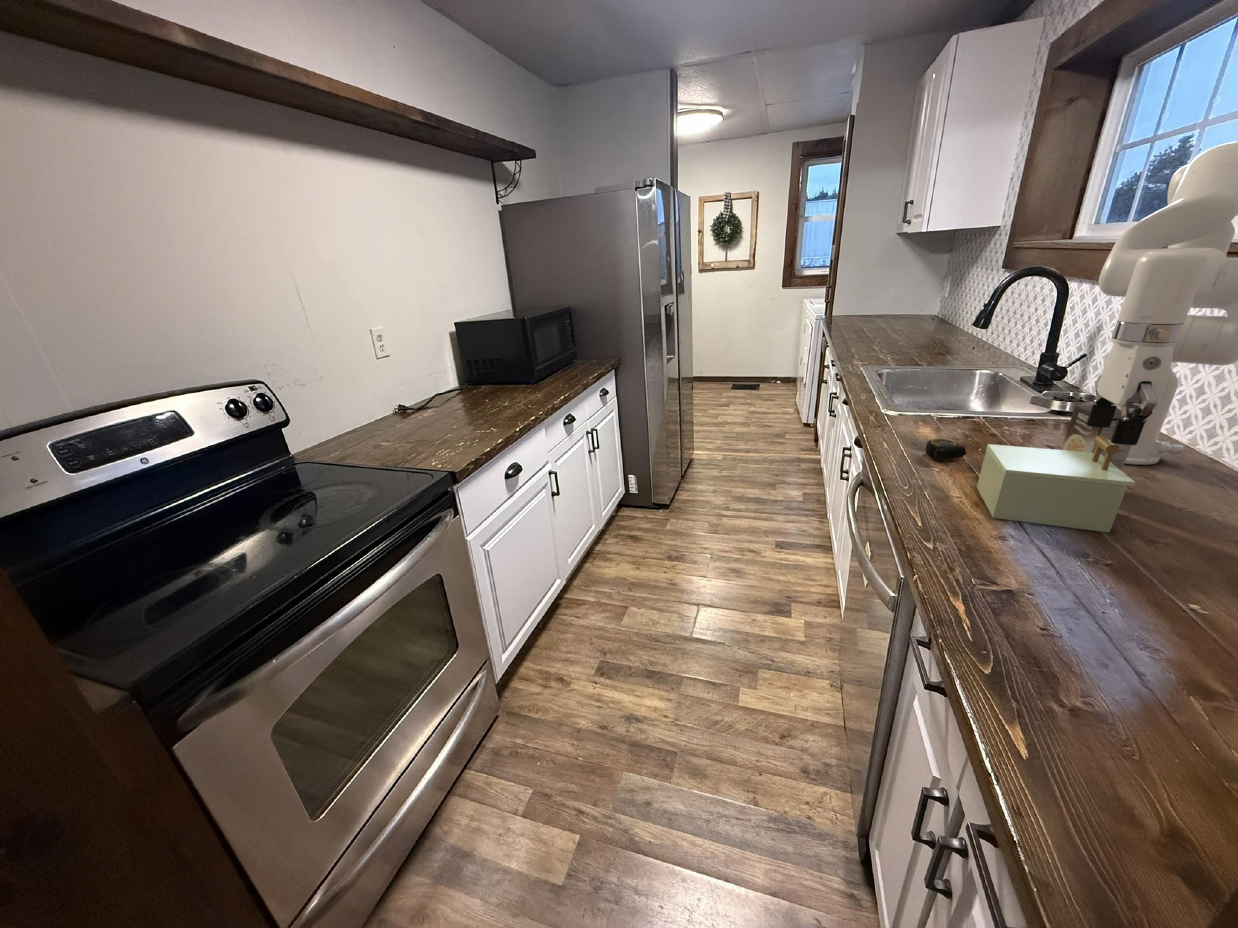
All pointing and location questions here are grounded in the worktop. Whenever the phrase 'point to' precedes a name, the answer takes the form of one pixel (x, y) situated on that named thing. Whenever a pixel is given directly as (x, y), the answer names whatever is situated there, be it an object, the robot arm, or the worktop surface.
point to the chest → (1048, 499)
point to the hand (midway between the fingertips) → (1109, 434)
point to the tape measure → (944, 449)
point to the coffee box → (1092, 435)
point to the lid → (1062, 463)
